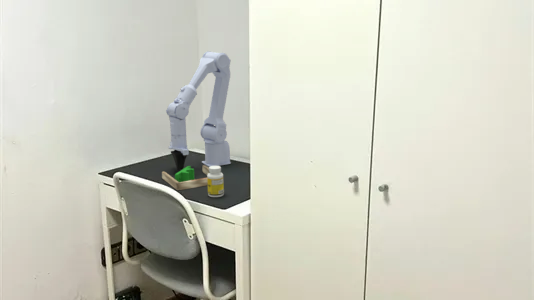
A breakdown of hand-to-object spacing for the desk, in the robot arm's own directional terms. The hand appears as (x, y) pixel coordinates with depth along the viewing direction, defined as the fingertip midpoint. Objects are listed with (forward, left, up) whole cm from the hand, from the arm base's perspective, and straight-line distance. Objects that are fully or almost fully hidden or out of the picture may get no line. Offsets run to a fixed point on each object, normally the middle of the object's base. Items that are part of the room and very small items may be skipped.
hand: (180, 169), depth 220 cm
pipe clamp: (+2, +12, -2) cm, 13 cm away
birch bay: (0, +11, -1) cm, 11 cm away
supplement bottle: (-1, +31, -1) cm, 31 cm away
